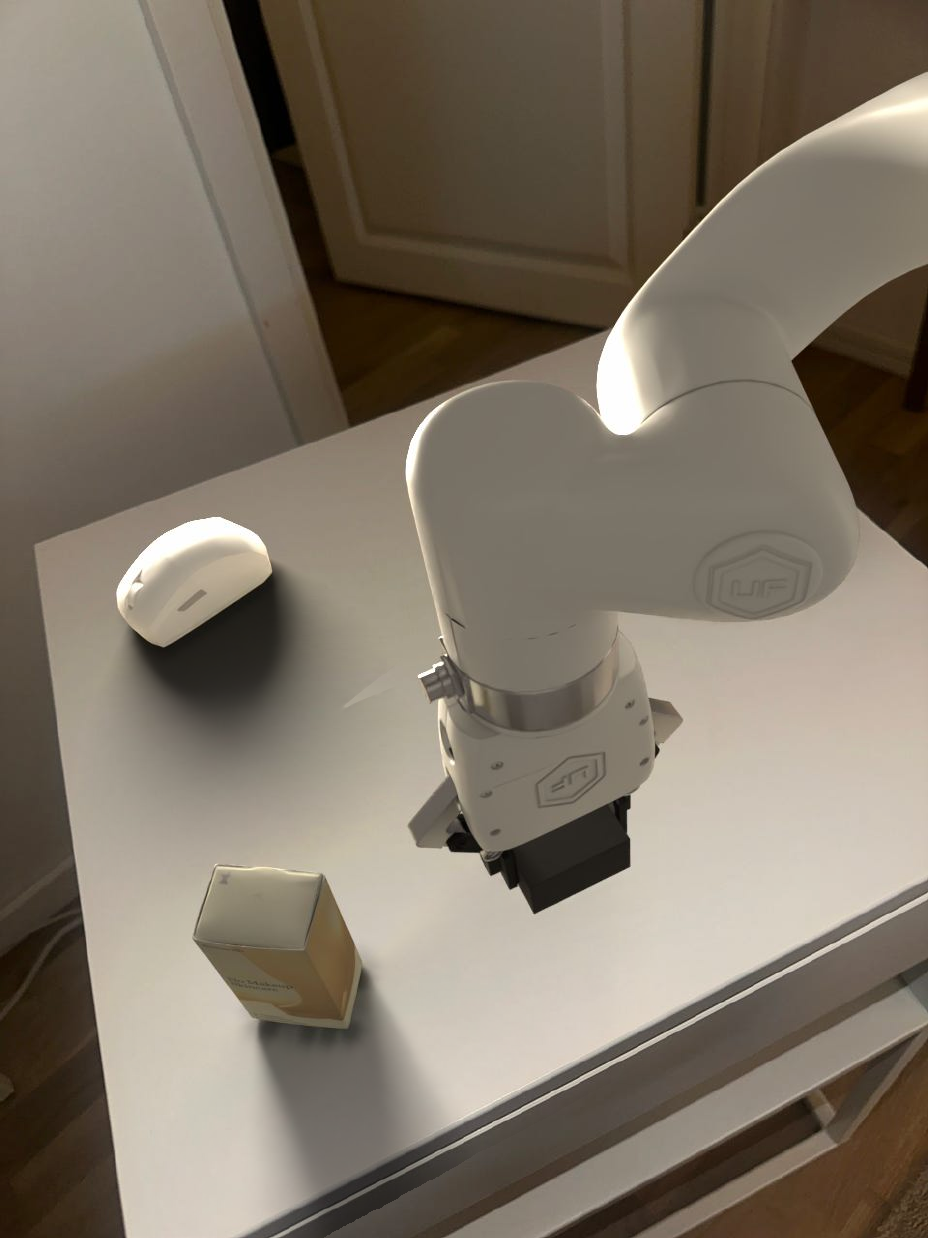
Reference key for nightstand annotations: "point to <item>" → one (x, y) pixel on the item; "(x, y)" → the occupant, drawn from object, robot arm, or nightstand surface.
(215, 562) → the computer mouse
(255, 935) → the cosmetic box
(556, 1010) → the nightstand surface
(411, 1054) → the nightstand surface
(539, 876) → the dark grey square block
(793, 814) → the nightstand surface
